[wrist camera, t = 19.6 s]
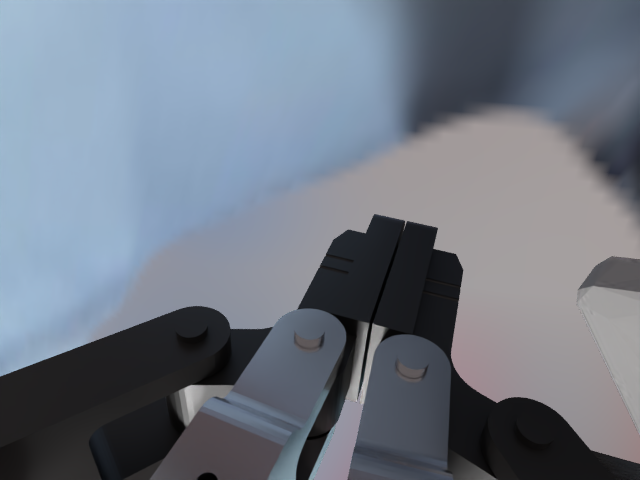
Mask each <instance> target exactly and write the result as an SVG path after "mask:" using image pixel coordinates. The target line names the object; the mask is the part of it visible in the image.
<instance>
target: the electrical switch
mask: <svg viewBox="0 0 640 480" xmlns="http://www.w3.org/2000/svg"><path fill="white" fill-rule="evenodd" d="M577 305H578V307H579V310H580V311H581V314H582V316H583V318H584V320H585V322H586V324H587V326H588V328H589V330H590V333H591V335H592V337H593V339H594V341H595V343H596V345H597V347H598V349H599V352H600V354H601V355H602V357H603V360H604V362H605V364H606V366H607V368H608V370H609V373H610V374H611V377H612V379H613V381H614V383H615V385H616V387H617V389H618V391H619V393H620V396H621V398H622V400H623V402H624V404H625V406H626V408H627V410H628V412H629V414H630V417H631V418H632V421H633V423H634V425H635V427H636V429H637V431H638V433H639V435H640V259H631V258H621V257H613V256H612V257H610V258H608V259H606V260H605V261H603V262H601V263H600V264H598V265H597V266H595V267H594V269H593V270H592V272H591V273H590V274H589V276H588V277H587V278H586V280H585V281H584V282H583V284H582V285H581V286H580V288H579V289H578V297H577Z"/></svg>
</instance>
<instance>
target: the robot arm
mask: <svg viewBox="0 0 640 480" xmlns="http://www.w3.org/2000/svg"><path fill="white" fill-rule="evenodd" d="M404 226H405V221H404V220H399V219H395V218H390V217H386V216H381V215H376V214H374V216H373V218H372V220H371V223H370V225H369V227H368V230H367V232H366V234H365V233H361V232H356V231H352V230H347V231H345V232H344V233H343V234H341V235H340V236H338V237H337V238H335V239H334V240H333V242H332V244H331V246H330V248H329V249H328V252H327V253H326V256H325V257H324V259H323V261H322V263H321V265H320V268H319V269H318V271H317V273H316V275H315V277H314V279H313V280H312V282H311V284H310V286H309V288H308V290H307V292H306V294H305V296H304V298H303V300H302V301H301V304H300V305H299V308H298V309H297V310H294V311H292V312H289V313H287V314H285V315H284V316H282V317H281V318H280V319H279V320H278V322H277V323H276V324H275V325H274V327H270V328H265V329H230V325H229V322H228V320H227V319H226V317H225V316H224V315H223V314H221V313H220V312H219V311H217V310H215V309H212V308H208V307H202V306H193V307H186V308H182V309H179V310H176V311H173V312H171V313H168V314H165V315H163V316H160V317H157V318H155V319H152V320H150V321H147V322H144V323H142V324H139V325H136V326H134V327H131V328H129V329H126V330H123V331H120V332H118V333H115V334H113V335H110V336H107V337H104V338H102V339H99V340H96V341H94V342H91V343H88V344H86V345H83V346H80V347H78V348H75V349H72V350H70V351H67V352H64V353H62V354H59V355H56V356H54V357H51V358H49V359H46V360H43V361H41V362H38V363H35V364H33V365H30V366H27V367H25V368H22V369H19V370H17V371H14V372H11V373H9V374H6V375H3V376H1V377H0V480H313V479H314V477H315V475H316V473H317V470H318V468H319V466H320V464H321V461H322V459H323V456H324V454H325V452H326V450H327V447H328V445H329V443H330V441H331V438H332V436H333V434H334V431H335V424H336V422H337V421H338V419H339V416H340V413H341V410H342V407H343V404H344V402H345V400H349V401H352V402H357V399H358V396H359V393H360V390H361V386H362V384H363V386H362V392H361V398H360V404H363V410H362V415H361V420H360V425H359V431H358V435H357V440H356V444H355V447H354V452H353V456H352V460H351V465H350V470H349V475H348V480H615V479H614V478H613V476H612V475H611V474H610V473H609V472H608V470H607V469H606V468H605V467H604V466H603V465H602V463H601V462H600V461H599V460H598V459H597V457H596V456H595V455H594V454H593V453H592V451H591V450H590V449H589V448H588V447H587V445H586V444H585V443H584V442H583V441H582V440H581V438H580V437H579V436H578V435H577V434H576V432H575V431H574V430H573V429H572V428H571V427H570V425H569V424H568V423H567V422H566V421H565V420H564V419H563V417H561V415H559V414H558V413H557V412H556V411H555V410H553V409H551V408H550V407H548V406H546V405H544V404H543V403H541V402H538V401H535V400H532V399H528V398H521V397H514V398H508V399H505V400H502V401H500V402H498V403H496V402H494V401H492V400H491V399H489V398H487V397H486V396H484V395H482V394H480V393H479V392H477V391H476V390H474V389H473V388H471V387H470V386H469V385H467V384H466V383H465V382H464V381H463V379H462V378H461V377H460V376H459V374H458V373H457V372H456V370H455V368H454V366H453V363H452V359H451V348H452V341H453V334H454V328H455V321H456V315H457V308H458V300H459V295H460V287H461V282H462V275H463V268H462V266H461V264H460V262H459V260H458V257H457V256H456V254H453V253H448V252H445V251H440V250H436V249H433V247H434V243H435V239H436V234H437V230H438V228H436V227H432V226H427V225H423V224H418V223H413V222H409V221H407V223H406V226H405V229H404Z"/></svg>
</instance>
